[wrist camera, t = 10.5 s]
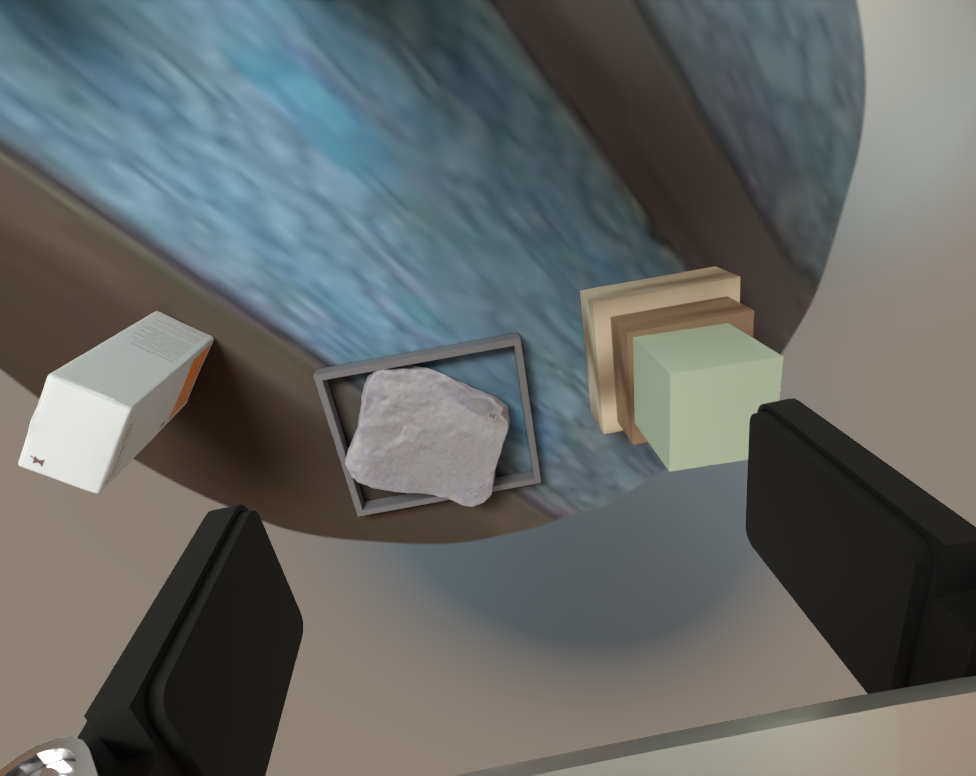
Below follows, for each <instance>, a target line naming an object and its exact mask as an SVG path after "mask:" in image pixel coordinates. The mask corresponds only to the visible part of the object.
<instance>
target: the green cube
mask: <svg viewBox="0 0 976 776" xmlns="http://www.w3.org/2000/svg"><path fill="white" fill-rule="evenodd" d="M783 360H784V357H783V356H782V355H780V354H778V353H777V352H775V351H773V350H772V349H770V348H769V347H767V346H765V345H764V344H762V343H760V342H759V341H757V340H755V339H754V338H752V337H750V336H749V335H747V334H746V333H744V332H742V331H741V330H739V329H737V328H736V327H734V326H732V325H731V324H729V323H726V324H719V325H712V326H705V327H699V328H692V329H685V330H678V331H671V332H665V333H658V334H651V335H644V336H637V337H633V361H634V414H635V424H636V426H637V427H638V428H639V430H640V431H641V433H642V434H643V435H644V437H645V438H646V440H647V441H648V442H649V444H650V445H651V447H652V448H653V449H654V451H655V452H656V454H657V455H658V456H659V458H660V459H661V461H662V462H663V464H664V465H665V466H666V468H667V469H668V471H669V472H671V471H677V470H684V469H691V468H696V467H704V466H710V465H717V464H723V463H730V462H736V461H743V460H748V451H749V423H750V417H751V415H752V414H754V413H757V411H758V408H759V406H760V405H762V404H765V403H770V402H775V401H779V400H780V389H781V379H782V369H783Z"/></svg>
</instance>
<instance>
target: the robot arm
mask: <svg viewBox="0 0 976 776" xmlns="http://www.w3.org/2000/svg"><path fill="white" fill-rule="evenodd" d="M746 531H747V536H748V539H749V541H750V543H751V545H752V546H753V548H754V549H755V550H756V552H757V553H758V554H759V556H760V557H761V558H762V559H763V561H764V562H765V563H766V564H767V566H768V567H769V568H770V570H771V571H772V572H773V573H774V575H775V576H776V577H777V579H778V580H779V581H780V582H781V584H782V585H783V586H784V588H785V589H786V590H787V591H788V593H789V594H790V595H791V596H792V597H793V599H794V600H795V602H796V603H797V604H798V605H799V607H800V608H801V609H802V611H803V612H804V613H805V614H806V616H807V617H808V618H809V619H810V621H811V622H812V623H813V624H814V626H815V627H816V628H817V630H818V631H819V632H820V633H821V635H822V636H823V637H824V639H825V640H826V641H827V642H828V643H829V645H830V646H831V648H832V649H833V650H834V651H835V653H836V654H837V655H838V656H839V658H840V659H841V660H842V661H843V663H844V664H845V665H846V667H847V668H848V669H849V670H850V672H851V673H852V674H853V675H854V677H855V678H856V679H857V680H858V682H859V683H860V685H861V686H862V687H863V688H864V690H865V691H866V692H867V693H868V694H866V695H861V696H855V697H849V698H844V699H839V700H834V701H829V702H823V703H819V704H813V705H808V706H803V707H798V708H793V709H788V710H782V711H778V712H772V713H767V714H762V715H757V716H752V717H746V718H741V719H736V720H731V721H726V722H721V723H715V724H710V725H705V726H700V727H695V728H690V729H685V730H680V731H674V732H669V733H665V734H659V735H654V736H649V737H644V738H639V739H634V740H629V741H625V742H619V743H614V744H609V745H604V746H599V747H594V748H590V749H584V750H579V751H574V752H569V753H564V754H559V755H554V756H549V757H544V758H539V759H535V760H529V761H524V762H519V763H514V764H510V765H505V766H500V767H494V768H489V769H484V770H480V771H474V772H469V773H465V774H460V775H455V776H976V527H975V526H973V525H972V524H970V523H969V522H968V521H966V520H965V519H963V518H962V517H961V516H959V515H958V514H956V513H955V512H954V511H952V510H951V509H949V508H948V507H947V506H945V505H944V504H942V503H941V502H940V501H938V500H937V499H935V498H934V497H933V496H931V495H930V494H928V493H927V492H926V491H924V490H923V489H922V488H920V487H919V486H917V485H916V484H915V483H913V482H912V481H910V480H909V479H907V478H906V477H905V476H903V475H902V474H901V473H899V472H898V471H896V470H895V469H894V468H892V467H891V466H889V465H888V464H887V463H885V462H884V461H882V460H881V459H879V458H878V457H877V456H875V455H874V454H872V453H871V452H870V451H868V450H867V449H866V448H864V447H863V446H861V445H860V444H858V443H857V442H856V441H854V440H853V439H852V438H850V437H849V436H847V435H846V434H845V433H843V432H842V431H840V430H839V429H838V428H836V427H835V426H833V425H832V424H830V423H829V422H828V421H826V420H825V419H824V418H822V417H821V416H819V415H818V414H816V413H815V412H814V411H812V410H811V409H809V408H808V407H807V406H805V405H804V404H803V403H801V402H800V401H798V400H796V399H786V400H781V401H775V402H770V403H765V404H762V405H760V406H759V408H758V411H757V413H754V414H752V415H751V417H750V423H749V451H748V479H747V508H746ZM302 634H303V620H302V616H301V613H300V610H299V608H298V606H297V603H296V601H295V598H294V596H293V594H292V591H291V589H290V587H289V585H288V582H287V580H286V577H285V575H284V573H283V570H282V568H281V566H280V563H279V561H278V558H277V556H276V554H275V551H274V549H273V547H272V545H271V542H270V540H269V537H268V535H267V533H266V530H265V528H264V526H263V523H262V521H261V518H260V516H259V515H258V513H257V512H256V511H249V510H248V509H247V508H246V507H245V506H243V505H238V506H233V507H227V508H222V509H217V510H212V511H210V512H208V514H207V515H206V516H205V518H204V519H203V521H202V523H201V525H200V526H199V528H198V529H197V531H196V533H195V534H194V536H193V538H192V539H191V541H190V542H189V544H188V546H187V548H186V549H185V551H184V552H183V554H182V556H181V557H180V559H179V561H178V562H177V564H176V566H175V567H174V569H173V571H172V572H171V574H170V575H169V577H168V579H167V580H166V582H165V584H164V586H163V587H162V589H161V590H160V592H159V594H158V595H157V597H156V599H155V600H154V602H153V603H152V605H151V607H150V609H149V610H148V612H147V613H146V615H145V617H144V618H143V620H142V622H141V624H140V625H139V627H138V628H137V630H136V632H135V633H134V635H133V636H132V638H131V640H130V641H129V643H128V645H127V647H126V648H125V650H124V651H123V653H122V655H121V656H120V658H119V660H118V661H117V663H116V664H115V666H114V668H113V669H112V671H111V673H110V675H109V676H108V678H107V679H106V681H105V683H104V684H103V686H102V688H101V689H100V691H99V692H98V694H97V696H96V697H95V699H94V701H93V702H92V704H91V706H90V708H89V709H88V711H87V713H86V714H85V716H84V717H85V718H86V719H87V723H86V724H85V726H84V728H83V730H82V731H81V733H80V734H79V736H78V738H74V737H63V738H56V739H53V740H50V741H47V742H45V743H42V744H39V745H37V746H35V747H33V748H31V749H30V750H28V751H26V752H25V753H23V754H21V755H19V756H18V757H16V758H15V759H13V760H12V761H11V762H10V763H8V764H7V765H6V766H4V767H3V768H2V769H0V776H265V774H266V771H267V767H268V763H269V759H270V756H271V752H272V748H273V744H274V741H275V737H276V733H277V729H278V726H279V722H280V718H281V714H282V710H283V707H284V703H285V699H286V695H287V691H288V688H289V684H290V680H291V676H292V672H293V669H294V665H295V661H296V657H297V654H298V650H299V646H300V643H301V639H302Z"/></svg>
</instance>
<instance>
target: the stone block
mask: <svg viewBox="0 0 976 776" xmlns="http://www.w3.org/2000/svg"><path fill="white" fill-rule="evenodd" d="M361 400H362V404H361V407H360V409H361V411H360V414H359V420H358V428H357V430H356V432H355V434H354V437H353V440H352V442H351V445H350V447H349V448H348V451H347V456H346V459H345V465H346V468H347V470H348V471H349V472H350V474H351V476H352V478H353V479H355V480H356V481H357V482H358V483H361V484H364V485H367V486H370V487H371V488H375V489H381V490H387V491H393V492H402V493H422V494H430V495H435V496H438V497H441V498H448V499H450V500H452V501H455V502H457V503H459V504H461V505H464V506H471V507H473V506H476V505H479V504H482V503H484V502H485V501H486V500H487V499H488V498H489V497H490V496H491V494H492V488H493V484H494V480H495V469H496V466H497V463H498V459H499V456H500V454H501V451H502V446H503V443H504V440H505V438H506V435H507V432H508V429H509V424H510V418H509V413H508V410H509V409H508V406H507V405H506V404H505V403H503V402H502V401H501V400H500V399H499V398H497V397H496V396H493V395H490V394H488V393H485V392H483V391H480V390H478V389H475V388H473V387H470V386H468V385H467V384H465V383H463V382H459V381H456V380H454V379H452V378H450V377H449V376H447V375H445V374H442V373H439V372H437V371H435V370H432V369H430V368H421V367H420V366H417V365H407V366H403V367H394V368H388V369H383V370H377V371H372V372H369V374H368V376H367V380H366V383H365V385H364V389H363V393H362V396H361Z"/></svg>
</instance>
